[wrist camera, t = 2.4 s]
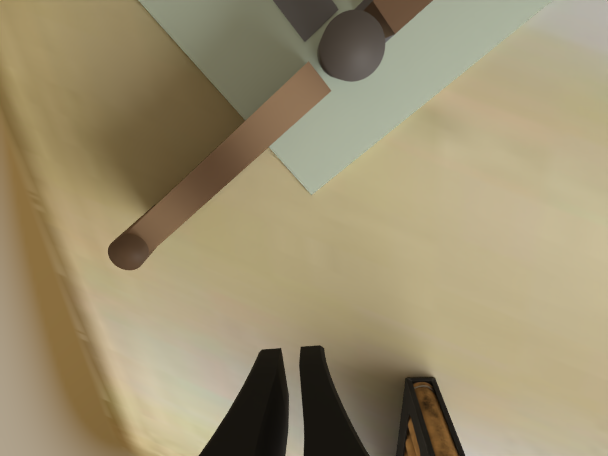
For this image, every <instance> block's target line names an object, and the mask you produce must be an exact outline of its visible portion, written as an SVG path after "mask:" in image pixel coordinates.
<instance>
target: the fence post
mask: <svg viewBox="0 0 608 456" xmlns="http://www.w3.org/2000/svg"><path fill="white" fill-rule="evenodd" d="M432 1H433V0H373V1H372V2H371V3H370V4H369V5H368V6H367V7H366V8H365V10H364V11H362V10H348V11H345V12H342V13H340V14H339V15H337V16H336V17H335V18H333V19H332V20H331V21H330V23H329V24H328V25H327V27H326V29H325V31H324V33H323V35H322V38H321V40H320V42H319V45H318V51H317V56H318V61H319V64H320V66H321V68H322V70H323V71H324V72H325V73H326V74H327V75H329V76H331V77H333V78H337V79H340V80H343V81H348V82H354V81H359V80H362V79H365V78H366V77H368V76H370V75H371V74H372V73H373V72H374V71H375V70H376V69H377V68H378V66H379V65H380V63H381V61H382V59H383V56H384V52H385V38H387V37H389V36H392V35H394V34H396V33H397V32H398V31H399V30H400V29H401V28H403V27H404V26H405V25H406V24H407V23H408V22H409V21H410V20H412V19H413V18H414V17H415V16H416V15H417V14H418V13H419V12H420V11H422V10H423V9H424V8H425V7H426V6H427V5H428V4H429V3H431V2H432Z"/></svg>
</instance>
